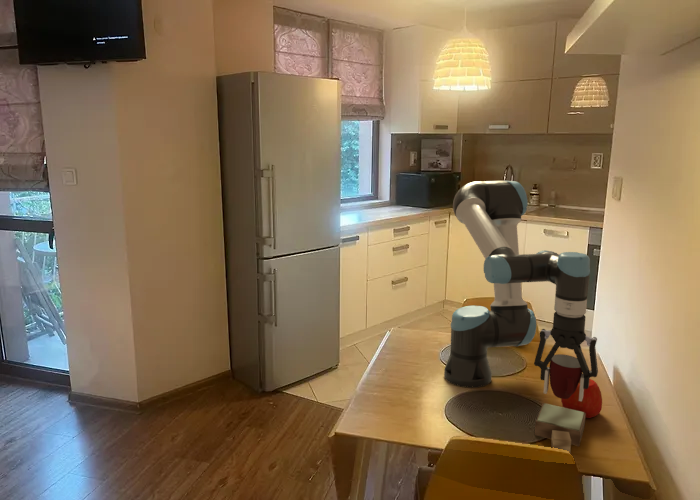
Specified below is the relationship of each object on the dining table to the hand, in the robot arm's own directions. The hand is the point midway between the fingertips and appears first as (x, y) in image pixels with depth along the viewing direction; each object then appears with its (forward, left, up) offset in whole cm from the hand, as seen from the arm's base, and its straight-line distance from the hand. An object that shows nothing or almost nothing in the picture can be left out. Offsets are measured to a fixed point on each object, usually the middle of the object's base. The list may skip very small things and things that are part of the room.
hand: (563, 395), depth 140 cm
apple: (+3, +13, -11) cm, 17 cm away
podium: (0, 0, -10) cm, 10 cm away
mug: (0, 0, -1) cm, 1 cm away
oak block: (+1, -9, -11) cm, 14 cm away
